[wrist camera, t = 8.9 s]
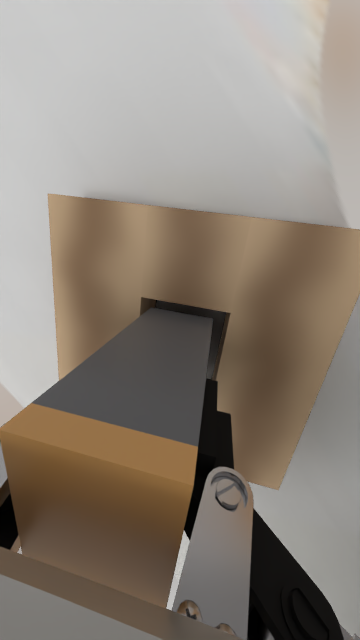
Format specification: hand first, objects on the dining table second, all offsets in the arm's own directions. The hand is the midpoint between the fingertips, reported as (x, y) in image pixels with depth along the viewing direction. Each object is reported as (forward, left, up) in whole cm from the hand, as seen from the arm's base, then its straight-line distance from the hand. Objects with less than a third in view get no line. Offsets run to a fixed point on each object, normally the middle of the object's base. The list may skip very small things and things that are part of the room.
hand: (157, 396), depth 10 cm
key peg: (0, 0, -4) cm, 4 cm away
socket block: (0, 0, -8) cm, 8 cm away
